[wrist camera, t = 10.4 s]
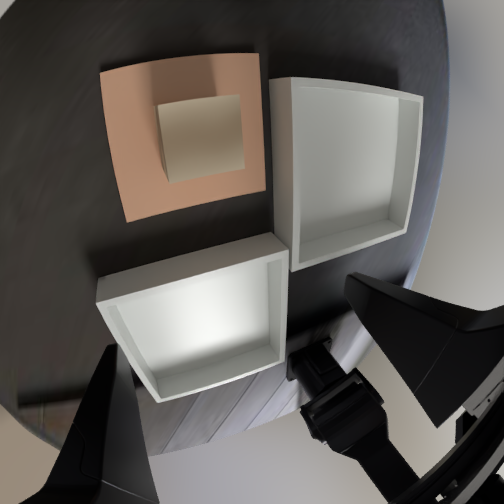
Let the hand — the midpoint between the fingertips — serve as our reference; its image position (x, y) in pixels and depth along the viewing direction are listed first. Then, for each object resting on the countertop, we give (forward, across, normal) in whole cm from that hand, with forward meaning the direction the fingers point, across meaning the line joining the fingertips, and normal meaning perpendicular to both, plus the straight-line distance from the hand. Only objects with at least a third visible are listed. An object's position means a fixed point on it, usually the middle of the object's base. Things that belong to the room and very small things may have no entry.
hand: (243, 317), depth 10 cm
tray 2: (+12, -14, -2) cm, 18 cm away
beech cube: (+11, -1, -5) cm, 12 cm away
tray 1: (+12, 0, +11) cm, 16 cm away
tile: (+11, -1, -5) cm, 13 cm away
